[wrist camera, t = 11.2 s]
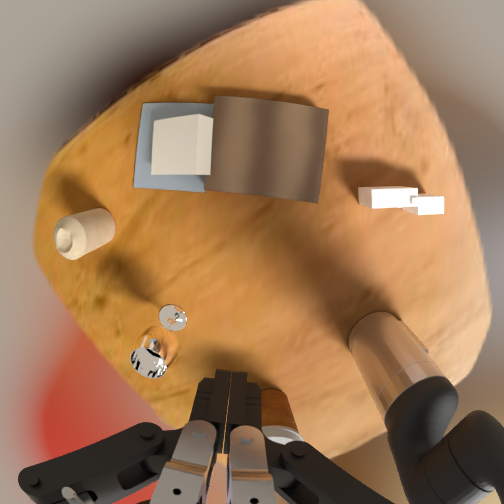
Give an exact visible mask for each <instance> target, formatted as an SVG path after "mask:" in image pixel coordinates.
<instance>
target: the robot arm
mask: <svg viewBox="0 0 504 504" xmlns="http://www.w3.org/2000/svg"><path fill="white" fill-rule="evenodd" d="M348 346H349V349H350V351H351V354H352V356H353V358H354V360H355V362H356V364H357V366H358V368H359V370H360V372H361V374H362V376H363V378H364V380H365V383H366V385H367V387H368V389H369V391H370V393H371V395H372V397H373V399H374V402H375V404H376V406H377V408H378V410H379V412H380V414H381V417H382V419H383V421H384V423H385V426H386V428H387V430H388V443H389V446H390V449H391V452H392V454H393V457H394V460H395V463H396V466H397V470H398V473H399V476H400V480H401V483H402V486H403V489H404V492H405V495H406V497H407V500H408V502H409V504H477V503H478V502H480V501H481V500H482V499H483V498H485V497H486V496H487V495H488V494H490V493H491V492H492V491H493V490H494V489H496V491H497V493H498V495H499V498H500V501H501V504H504V427H503V426H502V425H501V424H500V423H499V422H498V421H497V420H496V419H495V418H494V417H493V416H491V415H490V414H488V413H486V412H485V411H481V410H475V411H472V412H471V413H469V414H468V415H467V416H466V417H465V418H464V419H463V420H461V421H460V422H459V423H458V424H457V425H456V426H455V427H454V428H453V429H452V430H451V431H450V432H449V433H448V434H447V435H446V436H445V437H443V436H444V433H445V431H446V429H447V427H448V425H449V423H450V421H451V419H452V417H453V416H454V414H455V411H456V408H457V405H458V394H457V391H456V389H455V388H454V386H453V385H452V384H451V383H450V381H449V380H448V379H447V378H446V376H445V375H444V374H443V373H442V371H441V370H440V369H439V368H438V367H437V365H436V364H435V363H434V362H433V361H432V359H431V358H430V357H429V356H428V349H427V348H426V347H425V346H424V344H423V343H422V342H421V341H420V340H419V339H418V338H417V336H416V335H415V334H414V333H413V332H412V331H411V330H410V329H409V328H408V326H407V325H406V324H405V323H404V322H403V321H399V320H397V319H396V318H395V317H394V316H393V315H392V314H390V313H388V312H381V311H380V312H374V313H371V314H369V315H367V316H365V317H363V318H362V319H361V320H360V321H358V322H357V324H356V325H355V326H354V327H353V329H352V331H351V333H350V335H349V340H348ZM230 378H231V371H229V370H221V369H216V374H215V379H212V378H204V379H203V380H202V381H201V382H200V383H199V384H198V388H197V392H196V396H195V400H194V404H193V407H192V411H191V415H190V419H189V422H188V423H187V424H185V426H184V427H182V428H180V429H177V430H167V431H163V430H162V429H161V428H160V427H159V426H158V425H156V424H154V423H149V422H143V423H139V424H137V425H134V426H132V427H130V428H128V429H126V430H124V431H121V432H119V433H117V434H115V435H112V436H110V437H108V438H106V439H103V440H101V441H99V442H96V443H94V444H91V445H89V446H86V447H84V448H81V449H79V450H76V451H73V452H71V453H68V454H66V455H63V456H60V457H57V458H54V459H51V460H48V461H46V462H42V463H40V464H36V465H33V466H30V467H27V468H24V469H23V470H22V471H21V472H20V473H19V476H18V482H19V485H20V487H21V489H22V490H23V491H24V492H25V493H26V494H27V495H28V496H29V497H30V499H31V500H32V501H33V502H34V503H35V504H112V503H114V502H116V501H118V500H120V499H122V498H124V497H126V496H128V495H130V494H132V493H134V492H136V491H138V490H140V489H142V488H144V487H146V486H148V485H149V484H151V483H153V482H155V481H156V480H158V479H159V481H158V483H157V486H156V489H155V491H154V493H153V496H152V499H151V500H146V501H142V502H139V503H137V504H206V500H207V495H208V491H209V487H210V483H211V479H212V475H213V471H214V465H215V463H216V459H217V453H221V454H222V448H223V440H224V431H225V423H226V432H225V442H224V453H223V454H228V457H227V467H226V487H227V488H226V492H227V502H226V504H276V498H275V491H276V492H277V493H278V494H279V495H280V496H281V497H283V498H284V499H285V500H286V501H287V502H288V503H289V504H394V503H392V502H391V501H389V500H388V499H386V498H384V497H383V496H381V495H379V494H378V493H376V492H375V491H373V490H372V489H370V488H369V487H367V486H366V485H364V484H363V483H361V482H360V481H358V480H357V479H355V478H354V477H353V476H351V475H350V474H348V473H347V472H346V471H344V470H343V469H342V468H340V467H339V466H337V465H336V464H335V463H333V462H332V461H331V460H329V459H328V458H327V457H325V456H324V455H323V454H321V453H320V452H319V451H318V450H316V449H315V448H314V447H312V446H311V445H310V444H308V443H306V442H304V441H298V440H297V441H290V442H288V443H286V444H285V445H284V444H281V443H277V442H274V441H272V440H270V439H268V438H267V437H266V436H265V435H264V433H263V431H262V406H261V389H260V388H259V386H258V384H257V383H248V382H247V372H238V371H232V379H231V388H230ZM229 388H230V396H229ZM228 398H229V405H228ZM227 406H228V413H227ZM226 415H227V422H226ZM274 490H275V491H274Z"/></svg>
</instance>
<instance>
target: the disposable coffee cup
mask: <svg viewBox="0 0 504 504" xmlns="http://www.w3.org/2000/svg"><path fill="white" fill-rule="evenodd" d="M261 406H262V431H263V433H264V435H265V436H266V437H267V438H268V439H270V440H272V441H274V442H277V443H281V444H284V445H285V444H286V443H288V442H290V441H297V440H298V441H304V440H303V438H302V436H301V435H300V434H299V432H298V429H297V426H296V423H295V420H294V417H293V414H292V411H291V408H290V404H289V401H288V398H287V396H286V394H285V393H283V392H282V391H279V390H275V389H267V390H263V391H261Z"/></svg>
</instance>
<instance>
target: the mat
mask: <svg viewBox="0 0 504 504" xmlns="http://www.w3.org/2000/svg"><path fill="white" fill-rule="evenodd" d="M213 107H214V104H205V103H143V108H142V114H141V121H140V128H139V136H138V144H137V153H136V163H135V174H134V187H135V188H151V189H166V190H180V191H192V192H203V193H205V190H204V182H205V175H151V166H152V145H153V129H154V121H156V120H161V119H167V118H173V117H180V116H187V115H194V114H201V115H204V116H207V117H210V118H212V114H213Z"/></svg>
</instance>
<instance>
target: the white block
mask: <svg viewBox="0 0 504 504" xmlns="http://www.w3.org/2000/svg"><path fill="white" fill-rule="evenodd" d="M212 131H213V118H210V117H207V116H204V115H201V114H194V115H187V116H180V117H173V118H167V119H161V120H156V121H154V129H153V145H152V166H151V175H210V170H211V149H212Z"/></svg>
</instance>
